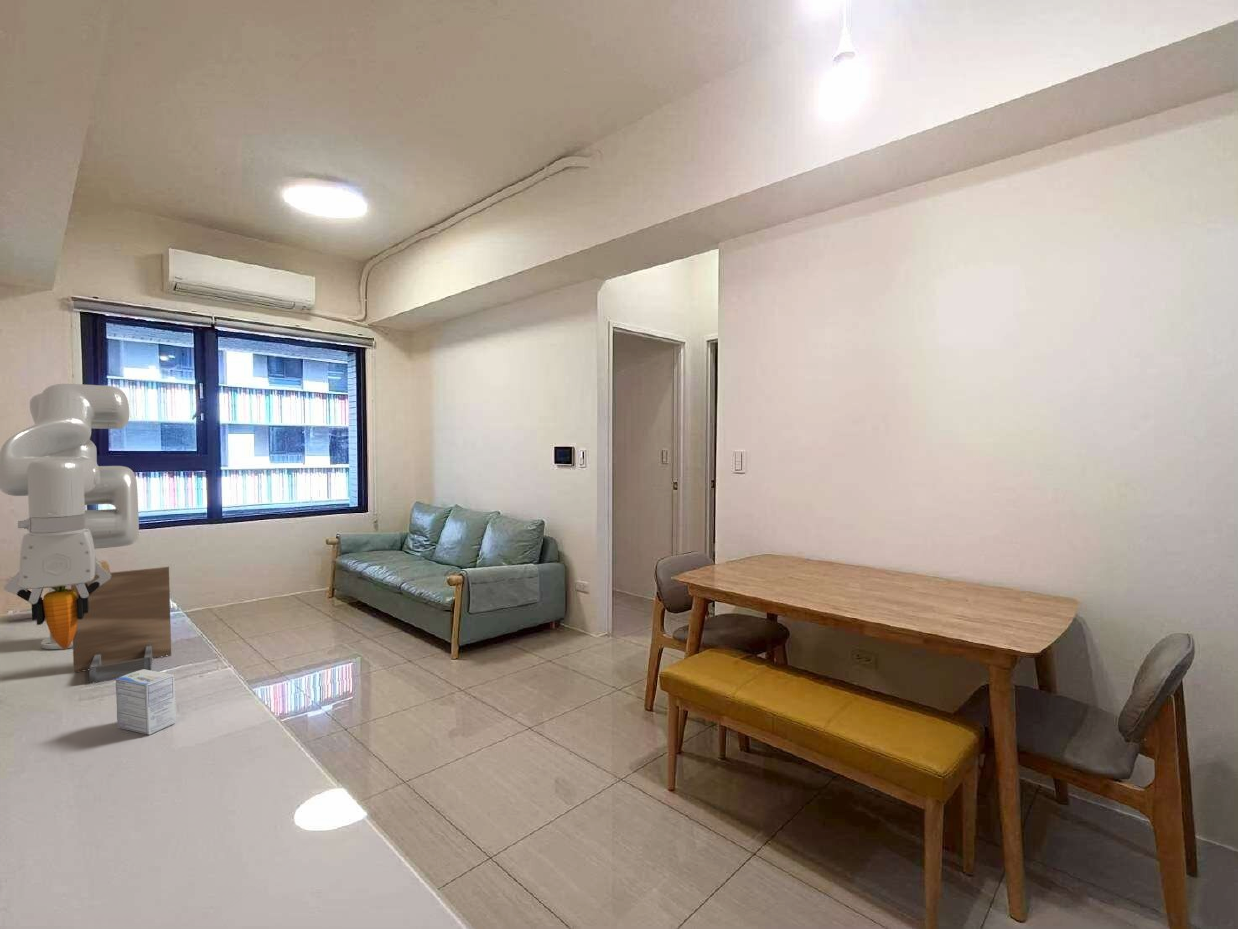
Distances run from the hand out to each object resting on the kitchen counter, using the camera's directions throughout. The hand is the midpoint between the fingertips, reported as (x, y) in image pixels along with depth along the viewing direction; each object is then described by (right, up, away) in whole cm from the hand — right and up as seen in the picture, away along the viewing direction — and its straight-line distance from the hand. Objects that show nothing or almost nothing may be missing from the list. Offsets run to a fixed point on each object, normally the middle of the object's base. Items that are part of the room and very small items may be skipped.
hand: (61, 619), depth 108 cm
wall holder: (+1, -14, +12) cm, 19 cm away
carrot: (0, -6, +1) cm, 6 cm away
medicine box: (+26, -15, -12) cm, 32 cm away
